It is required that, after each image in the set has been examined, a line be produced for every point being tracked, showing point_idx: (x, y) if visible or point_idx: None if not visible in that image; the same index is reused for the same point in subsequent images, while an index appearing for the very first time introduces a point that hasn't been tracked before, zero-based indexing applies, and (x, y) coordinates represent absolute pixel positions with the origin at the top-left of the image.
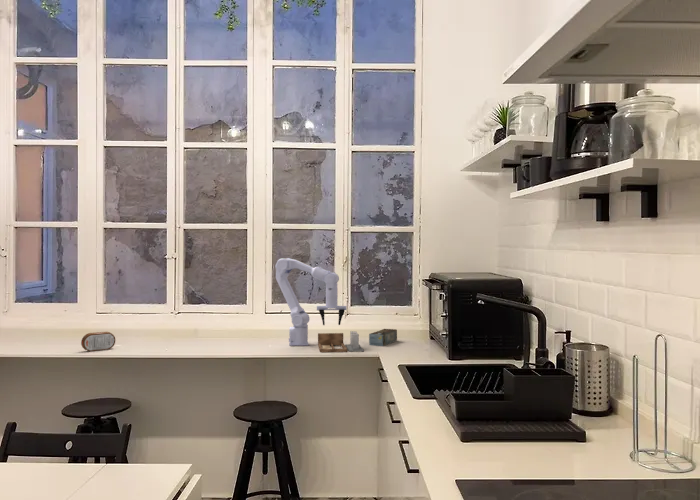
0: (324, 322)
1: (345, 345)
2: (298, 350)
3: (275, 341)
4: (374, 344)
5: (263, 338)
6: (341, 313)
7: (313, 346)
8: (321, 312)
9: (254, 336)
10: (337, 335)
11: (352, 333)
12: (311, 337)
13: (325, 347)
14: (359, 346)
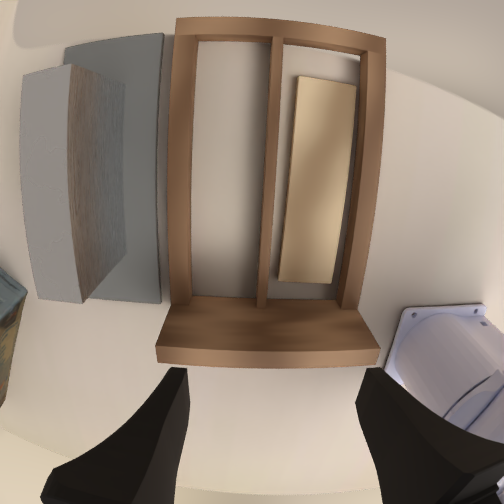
0: (382, 383)
1: (160, 284)
2: (483, 152)
3: None
4: (2, 273)
5: None
6: (103, 473)
7: (383, 282)
8: (498, 453)
9: None
10: (210, 338)
11: (62, 151)
12: (313, 485)
13: (326, 181)
14: None
